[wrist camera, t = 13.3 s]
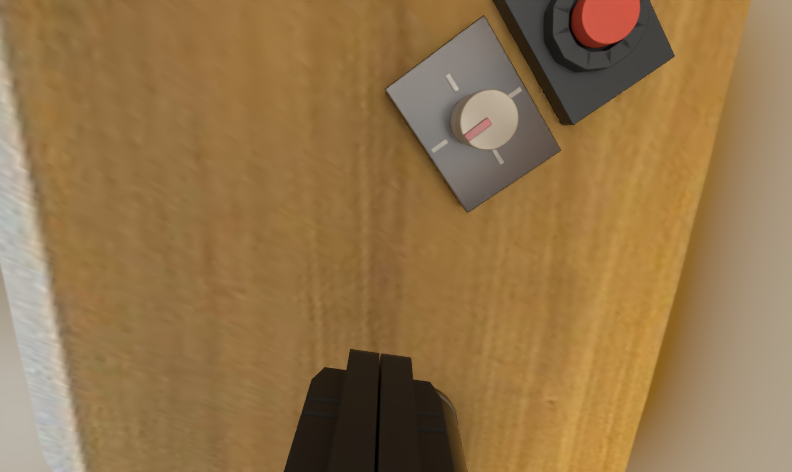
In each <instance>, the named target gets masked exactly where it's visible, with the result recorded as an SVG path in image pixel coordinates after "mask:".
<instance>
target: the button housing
mask: <svg viewBox="0 0 792 472" xmlns="http://www.w3.org/2000/svg"><path fill="white" fill-rule="evenodd" d="M493 1H494V3H495V5H496V7H497V9H498V10H499V12H500V14H501V16H502V18H503V19H504V21H505V23H506V25H507V26H508V28H509V30H510V32H511V34H512V35H513V37H514V39H515V41H516V43H517V44H518V46H519V48H520V50H521V52H522V53H523V55H524V57H525V59H526V61H527V62H528V64H529V66H530V68H531V70H532V71H533V73H534V75H535V77H536V79H537V80H538V82H539V84H540V86H541V87H542V89H543V91H544V93H545V95H546V96H547V98H548V100H549V102H550V104H551V105H552V107H553V109H554V111H555V113H556V114H557V116H558V118H559V120H560V122H561V123H562V125H574V124H575V123H577V122H578V121H580V120H581V119H583V118H584V117H586V116H587V115H589V114H590V113H592V112H593V111H595V110H596V109H598V108H599V107H601V106H602V105H604V104H605V103H607V102H608V101H610V100H611V99H613V98H614V97H616V96H617V95H618V94H620V93H621V92H623V91H624V90H626V89H627V88H629V87H630V86H632V85H633V84H635V83H636V82H638V81H639V80H641V79H642V78H644V77H645V76H647V75H648V74H650V73H651V72H653V71H654V70H656V69H657V68H659V67H660V66H661V65H663V64H664V63H666V62H667V61H669V60H670V59H672V58H673V57H675V55H674V53H673V51H672V49H671V47H670V44H669V42H668V40H667V38H666V36H665V33H664V31H663V29H662V27H661V25H660V22H659V20H658V18H657V16H656V14H655V11H654V9H653V7H652V5H651V3H650V0H640V14H639V18H638V20H637V23H636V25H635V26H634V28H633V29H632V31H631V32H630V33H629V34H628V35H627V36H626V37H625V38H623V39H622V40H620V41H618V42H615V43H613V44H610V45H607V46H604V47H601V48H590V47H586V46H584V45H583V44H581V43H580V42H579V41H578V40H577V39H576V37H575V36H574V34H573V31H572V26H571V17H572V12H573V9H574V7H575V5H576V3H577V1H578V0H493Z"/></svg>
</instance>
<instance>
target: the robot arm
mask: <svg viewBox="0 0 792 472" xmlns="http://www.w3.org/2000/svg"><path fill="white" fill-rule="evenodd" d="M284 472H468V471H467V466H466V462H465V457H464V453H463V448H462V443H461V439H460V434H459V430H458V422H457V416H456V412H455V409H454V407H453V405H452V403H451V402H450V401H449V399H448V398H447V397H446V396H444V395H443V394H442V393H440V392H439V391H437V390H435V388H434V387H433V386H432V384H431V383H430V382H427V381H420V380H413V373H412V362H411V358H410V357H403V356H396V355H389V354H381V356H380V361H379V353H375V352H368V351H361V350H354V349H350V353H349V359H348V364H347V370H341V369H334V368H327V367H324V368H323V369H322V370H321V371H320V372H319V373H318V374H317V375H316V376H315V377H314V378H313V379H312V380H311V383H310V387H309V390H308V393H307V397H306V400H305V403H304V407H303V410H302V414H301V416H300V420H299V423H298V426H297V430H296V433H295V436H294V440H293V443H292V446H291V449H290V453H289V456H288V459H287V463H286V466H285V469H284Z"/></svg>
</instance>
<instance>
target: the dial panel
mask: <svg viewBox="0 0 792 472" xmlns="http://www.w3.org/2000/svg"><path fill="white" fill-rule="evenodd" d="M487 89H495V90H499V91H502V92H504V93H506V94H507V95H508V96H509V97H510V98H511V99H512V100H513V101H514V103H515V105H516V107H517V111H518V125H517V129H516V131H515V133H514V135H513V136H512V138H511V139H510V140H509V141H508V142H507V143H506V144H505V145H503V146H502V147H500V148H497V149H494V150H480V149H477V148H474V147H470V146H467V145H465V144H463V143H461V142H460V141H459V140H458V139H457V138H456V137H455V136H454V134H453V132H452V129H451V124H450V120H451V114H452V111H453V109H454V107H455V105H456V104H457V103H458V102H459V101H460V100H461V99H462V98H464V97H466V96H468V95H470V94H473V93H476V92H479V91H482V90H487ZM385 91H386V94H387V95H388V97H389V98H390V100H391V101H392V103H393V104H394V106H395V107H396V109H397V110H398V112H399V113H400V115H401V116H402V118H403V119H404V121H405V122H406V124H407V125H408V127H409V128H410V130H411V131H412V133H413V134H414V136H415V137H416V139H417V140H418V142H419V143H420V145H421V146H422V148H423V149H424V151H425V152H426V154H427V155H428V157H429V158H430V160H431V161H432V163H433V164H434V166H435V167H436V169H437V170H438V172H439V173H440V175H441V176H442V178H443V179H444V181H445V182H446V184H447V185H448V187H449V188H450V190H451V191H452V193H453V194H454V196H455V197H456V199H457V200H458V202H459V203H460V205H461V206H462V207H463V208H464V209H465V211H466V212H467V213H468V212H470V211H471V210H473V209H474V208H476V207H477V206H479V205H480V204H482V203H483V202H485V201H486V200H488V199H489V198H491V197H492V196H494V195H495V194H497V193H498V192H500V191H501V190H503V189H504V188H506V187H507V186H509V185H510V184H512V183H513V182H515V181H516V180H518V179H519V178H521V177H522V176H524V175H525V174H527V173H528V172H530V171H531V170H533V169H534V168H536V167H537V166H539V165H540V164H542V163H543V162H545V161H546V160H548V159H549V158H551V157H552V156H554V155H555V154H557V153H558V152H560V151H561V149H560V147H559V146H558V144H557V142H556V140H555V139H554V137H553V135H552V133H551V132H550V130H549V128H548V126H547V124H546V123H545V121H544V119H543V117H542V116H541V114H540V112H539V110H538V109H537V107H536V105H535V103H534V102H533V100H532V98H531V96H530V95H529V93H528V91H527V89H526V88H525V86H524V84H523V82H522V80H521V79H520V77H519V75H518V73H517V72H516V70H515V68H514V66H513V65H512V63H511V61H510V59H509V58H508V56H507V54H506V52H505V51H504V49H503V47H502V45H501V44H500V42H499V40H498V38H497V37H496V35H495V33H494V31H493V29H492V28H491V26H490V24H489V22H488V21H487V19H486V17H485V16H484V15H483V16H482V17H480V18H479V19H478V20H476V21H475V22H474V23H472V24H471V25H470V26H468V27H467V28H466V29H464V30H463V31H462V32H460V33H459V34H458V35H456V36H455V37H454V38H452V39H451V40H450V41H448V42H447V43H446V44H444V45H443V46H442V47H440V48H439V49H438V50H436V51H435V52H434V53H432V54H431V55H430V56H428V57H427V58H426V59H424V60H423V61H422V62H420V63H419V64H418V65H416V66H415V67H414V68H412V69H411V70H410V71H408V72H407V73H406V74H404V75H403V76H402V77H400V78H399V79H398V80H396V81H395V82H394V83H392V84H391V85H390V86H388V87H387V88H386V89H385Z"/></svg>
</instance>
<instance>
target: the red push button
mask: <svg viewBox="0 0 792 472" xmlns="http://www.w3.org/2000/svg"><path fill="white" fill-rule="evenodd" d="M639 14H640V0H578V1H577V3H576V5H575V7H574V9H573V12H572V17H571V26H572V31H573V34H574V36H575V37H576V39H577V40H578V41H579V42H580V43H581V44H583V45H584V46H586V47H590V48H601V47H604V46H607V45H610V44H613V43H615V42H618V41H620V40H622V39H623V38H625V37H626V36H627V35H628V34H629V33H630V32H631V31H632V29H633V28H634V26H635V25H636V23H637V20H638V18H639Z"/></svg>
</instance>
